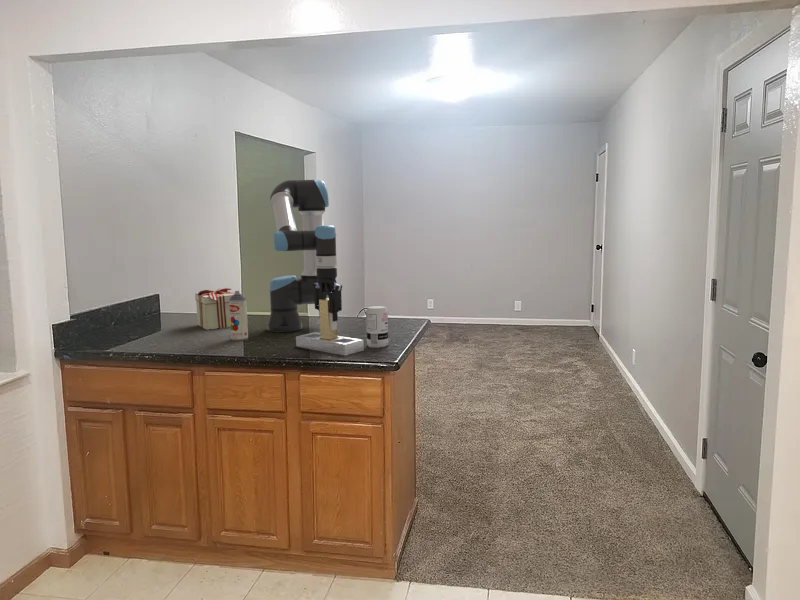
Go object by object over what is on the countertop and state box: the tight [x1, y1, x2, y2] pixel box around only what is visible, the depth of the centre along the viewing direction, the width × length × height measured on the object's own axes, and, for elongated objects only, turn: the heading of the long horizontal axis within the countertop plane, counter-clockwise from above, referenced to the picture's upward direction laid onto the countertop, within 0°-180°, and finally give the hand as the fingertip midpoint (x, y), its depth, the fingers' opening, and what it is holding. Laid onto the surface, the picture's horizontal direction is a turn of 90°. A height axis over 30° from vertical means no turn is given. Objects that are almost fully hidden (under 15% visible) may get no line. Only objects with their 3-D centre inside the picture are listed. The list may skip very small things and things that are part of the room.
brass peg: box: [319, 298, 338, 340], centre depth 236 cm, size 4×4×15 cm
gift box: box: [194, 287, 235, 331], centre depth 287 cm, size 17×18×17 cm
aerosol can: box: [229, 290, 249, 342], centre depth 257 cm, size 7×7×20 cm
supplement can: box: [365, 305, 389, 349], centre depth 240 cm, size 8×8×15 cm
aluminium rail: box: [295, 331, 365, 356], centre depth 238 cm, size 26×10×4 cm, turn 51°
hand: (328, 328), depth 237 cm, fingers closed on brass peg, 4 cm apart
